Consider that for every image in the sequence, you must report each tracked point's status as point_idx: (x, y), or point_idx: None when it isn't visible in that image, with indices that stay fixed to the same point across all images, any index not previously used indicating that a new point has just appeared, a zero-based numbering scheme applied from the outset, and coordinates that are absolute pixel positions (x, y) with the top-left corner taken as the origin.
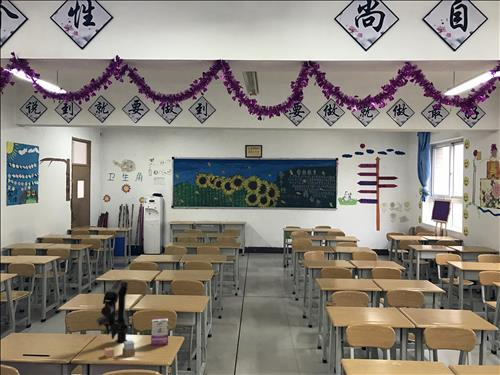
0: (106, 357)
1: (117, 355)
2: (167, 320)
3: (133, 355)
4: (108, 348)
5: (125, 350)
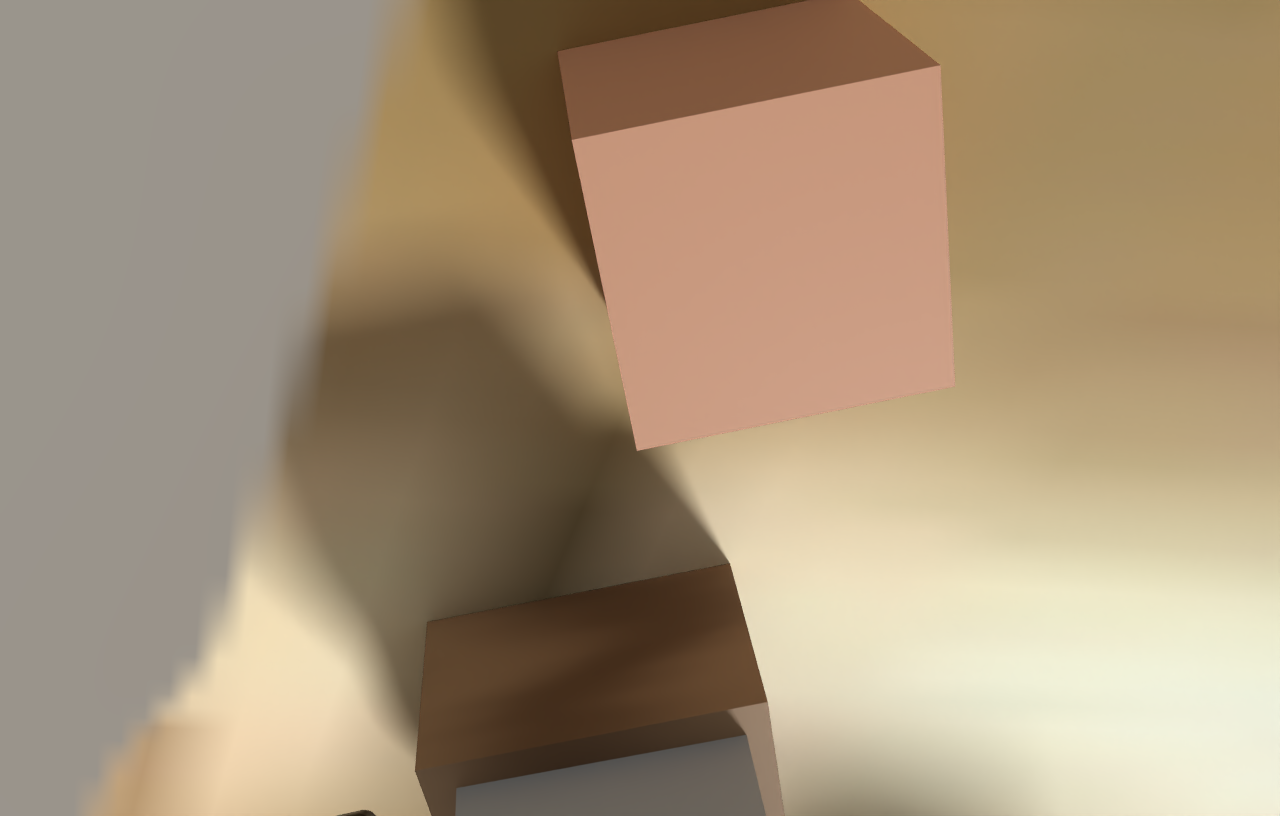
0: (569, 52)
1: None
2: None
3: None
4: (859, 241)
5: (475, 769)
